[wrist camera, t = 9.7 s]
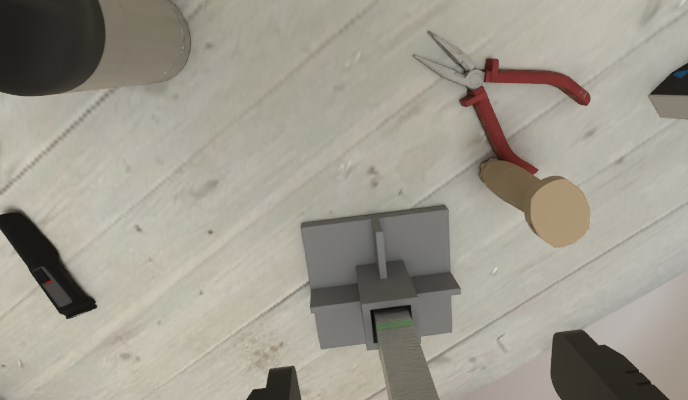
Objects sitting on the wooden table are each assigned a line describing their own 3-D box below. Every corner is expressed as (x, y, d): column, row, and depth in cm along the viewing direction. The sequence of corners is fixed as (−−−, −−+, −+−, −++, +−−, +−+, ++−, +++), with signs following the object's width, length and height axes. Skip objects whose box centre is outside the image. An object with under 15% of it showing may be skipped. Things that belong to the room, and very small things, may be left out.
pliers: (448, -6, 42) (456, -10, 40) (585, 94, 46) (600, 95, 44) (389, 90, 45) (393, 91, 43) (524, 175, 49) (534, 181, 47)
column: (374, 328, 45) (402, 474, 29) (371, 301, 44) (399, 437, 28) (406, 324, 45) (452, 467, 29) (404, 297, 44) (450, 430, 28)
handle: (483, 201, 49) (548, 256, 35) (461, 158, 48) (520, 198, 33) (518, 181, 49) (599, 228, 35) (497, 137, 47) (573, 169, 33)
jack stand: (320, 342, 55) (320, 417, 43) (301, 223, 49) (295, 272, 37) (448, 325, 55) (482, 395, 44) (444, 205, 49) (482, 249, 38)
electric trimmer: (29, 201, 47) (8, 210, 44) (101, 305, 52) (87, 319, 49) (1, 212, 47) (-21, 222, 44) (76, 315, 52) (61, 330, 49)
